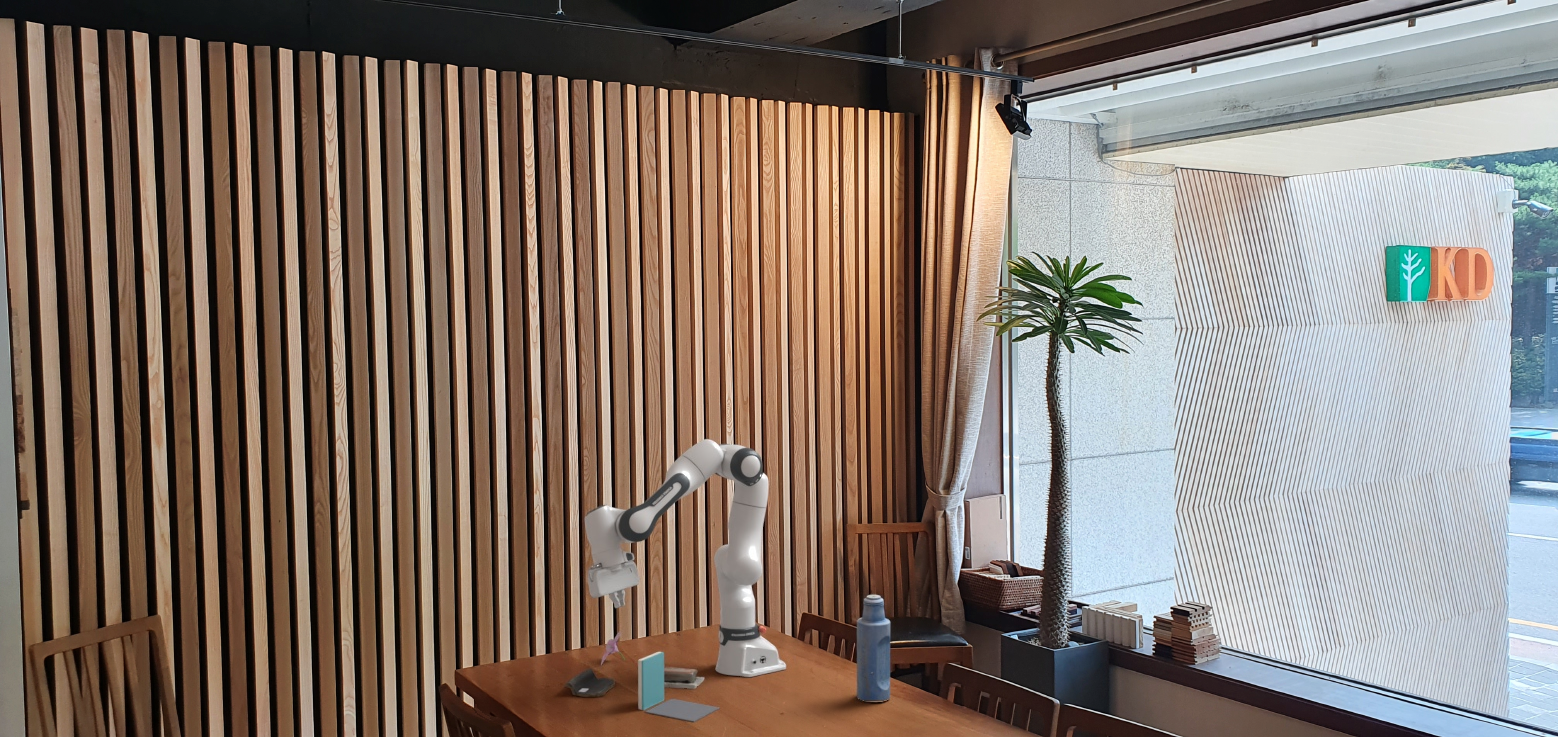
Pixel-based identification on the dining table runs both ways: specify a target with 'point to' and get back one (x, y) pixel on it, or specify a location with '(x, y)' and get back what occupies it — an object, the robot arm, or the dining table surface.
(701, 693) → the dining table surface
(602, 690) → the pottery fragment
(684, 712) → the mat
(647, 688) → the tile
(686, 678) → the packaged product
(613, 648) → the lily
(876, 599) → the bottle
